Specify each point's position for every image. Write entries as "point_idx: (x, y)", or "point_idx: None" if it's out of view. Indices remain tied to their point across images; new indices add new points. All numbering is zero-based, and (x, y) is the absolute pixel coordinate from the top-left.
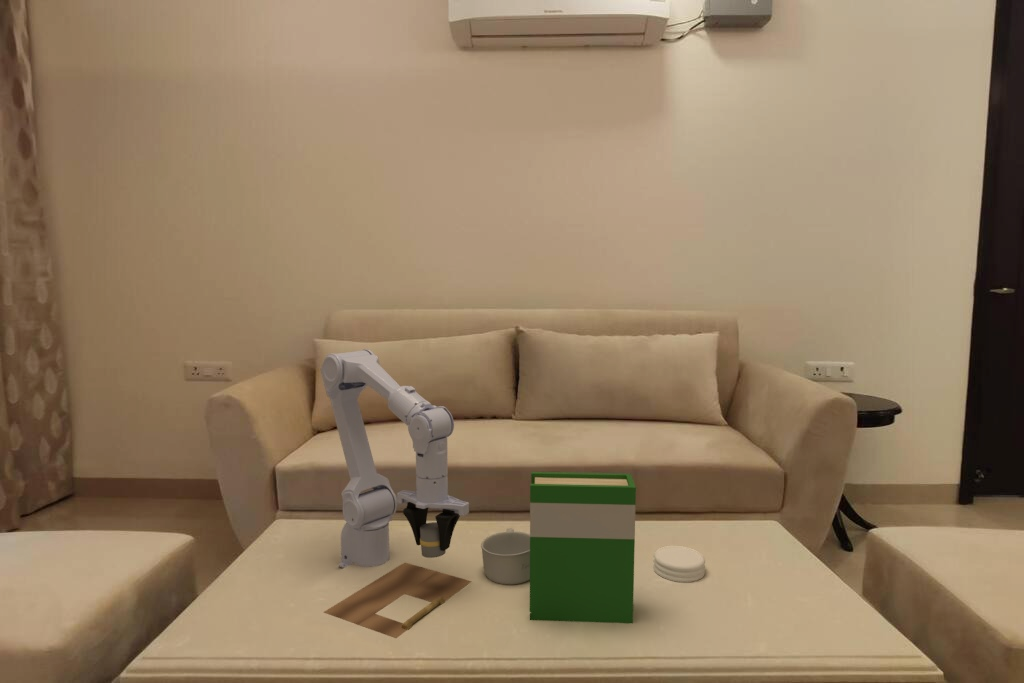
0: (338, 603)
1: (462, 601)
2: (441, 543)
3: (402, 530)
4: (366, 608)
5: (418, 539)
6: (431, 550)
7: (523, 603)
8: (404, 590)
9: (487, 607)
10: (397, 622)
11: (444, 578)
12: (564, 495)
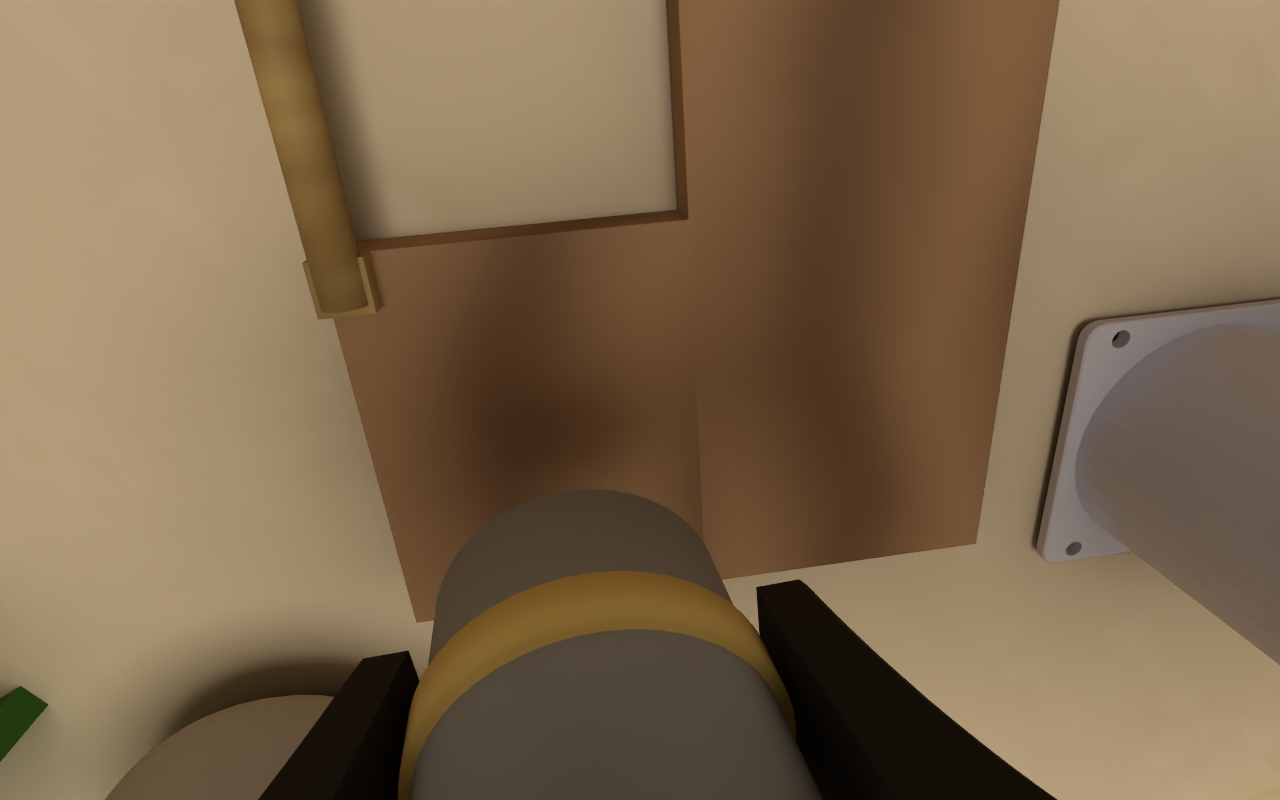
0: None
1: (346, 448)
2: (330, 738)
3: (1206, 780)
4: None
5: (785, 641)
6: (492, 578)
7: (27, 646)
8: (723, 258)
9: (151, 488)
10: None
11: None
12: None
